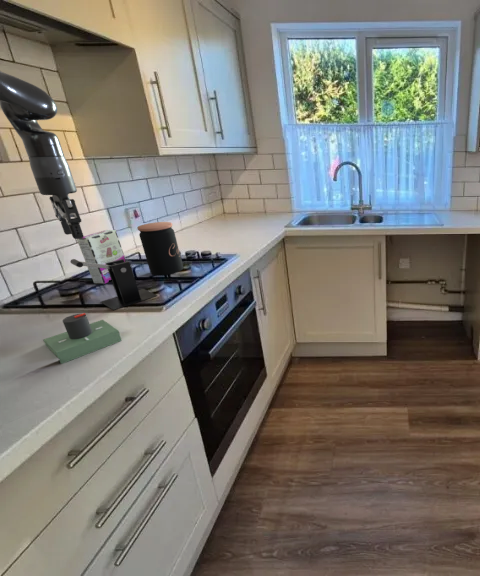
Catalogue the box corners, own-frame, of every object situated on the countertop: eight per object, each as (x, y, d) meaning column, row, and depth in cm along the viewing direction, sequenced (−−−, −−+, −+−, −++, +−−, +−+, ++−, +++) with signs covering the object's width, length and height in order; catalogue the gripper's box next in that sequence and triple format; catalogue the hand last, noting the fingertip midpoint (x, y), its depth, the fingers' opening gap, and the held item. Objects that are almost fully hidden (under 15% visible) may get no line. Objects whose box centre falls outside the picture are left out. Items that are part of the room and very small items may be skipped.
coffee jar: (180, 276, 130) (167, 227, 123) (147, 279, 128) (132, 229, 121) (187, 266, 140) (175, 220, 133) (156, 269, 137) (143, 223, 130)
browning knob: (73, 341, 83) (65, 322, 81) (66, 335, 86) (59, 317, 84) (95, 333, 87) (88, 315, 85) (88, 328, 89) (82, 310, 87)
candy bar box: (119, 272, 135) (105, 229, 129) (130, 273, 135) (117, 229, 128) (92, 283, 125) (75, 237, 119) (104, 284, 124) (88, 238, 118)
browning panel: (61, 364, 80) (55, 352, 79) (47, 350, 86) (42, 338, 84) (121, 340, 89) (117, 329, 88) (106, 329, 94) (102, 318, 93)
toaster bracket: (114, 313, 103) (99, 271, 98) (101, 305, 109) (86, 265, 104) (158, 298, 112) (147, 259, 107) (144, 291, 117) (132, 254, 112)
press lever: (75, 268, 96) (77, 260, 96) (69, 265, 98) (71, 256, 98) (127, 274, 106) (129, 266, 106) (120, 271, 109) (122, 263, 108)
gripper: (28, 175, 95) (50, 235, 101) (40, 177, 87) (64, 242, 93) (64, 173, 101) (83, 230, 107) (78, 174, 92) (98, 236, 98)
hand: (74, 236), depth 100 cm, fingers open, 8 cm apart
